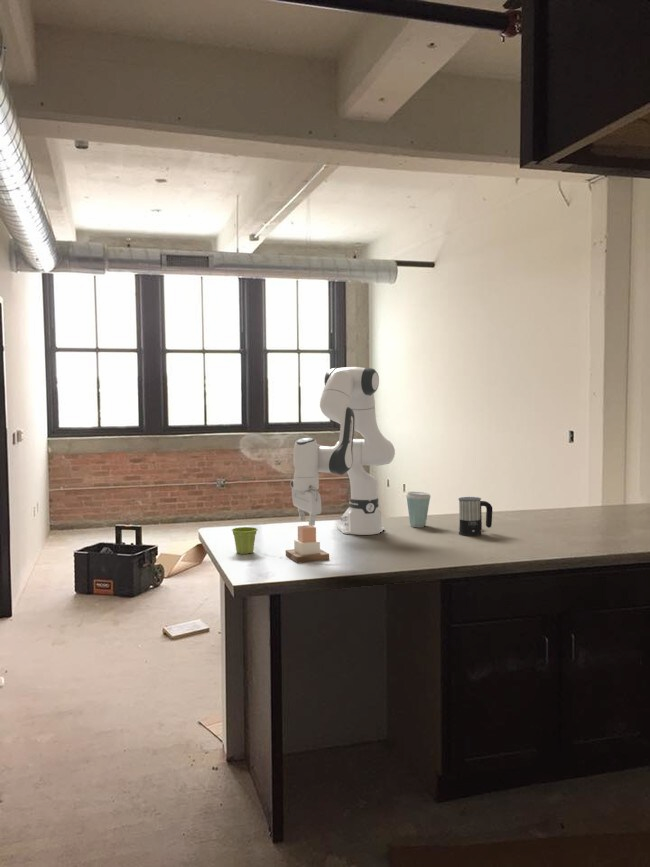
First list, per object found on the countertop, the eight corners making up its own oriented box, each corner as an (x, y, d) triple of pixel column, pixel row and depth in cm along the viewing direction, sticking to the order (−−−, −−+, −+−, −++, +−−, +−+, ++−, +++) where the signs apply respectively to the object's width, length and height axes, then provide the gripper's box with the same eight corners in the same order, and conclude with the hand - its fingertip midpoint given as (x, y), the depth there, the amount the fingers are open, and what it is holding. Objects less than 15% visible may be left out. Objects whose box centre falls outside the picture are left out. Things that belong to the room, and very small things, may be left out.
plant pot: (234, 549, 262) (233, 526, 262) (259, 549, 262) (259, 526, 261) (230, 555, 253) (229, 531, 252) (256, 555, 252) (255, 531, 252)
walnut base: (285, 555, 252) (285, 550, 252) (316, 552, 256) (316, 547, 256) (297, 563, 241) (296, 557, 240) (329, 559, 245) (329, 553, 245)
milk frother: (466, 537, 281) (466, 500, 280) (445, 530, 296) (445, 495, 295) (496, 534, 287) (496, 498, 286) (473, 527, 301) (473, 493, 300)
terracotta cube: (297, 540, 249) (297, 526, 249) (310, 538, 251) (310, 525, 251) (302, 542, 245) (302, 528, 245) (316, 541, 247) (315, 527, 246)
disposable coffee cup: (420, 523, 312) (420, 489, 312) (435, 526, 303) (435, 492, 302) (401, 525, 307) (401, 491, 306) (416, 529, 298) (416, 494, 297)
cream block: (294, 550, 250) (294, 539, 250) (312, 549, 253) (312, 538, 253) (301, 555, 244) (301, 543, 243) (319, 553, 246) (319, 541, 246)
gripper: (325, 487, 239) (326, 527, 240) (304, 479, 258) (305, 517, 259) (308, 488, 236) (309, 529, 237) (288, 481, 255) (289, 518, 256)
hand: (307, 522), depth 248 cm, fingers open, 8 cm apart
